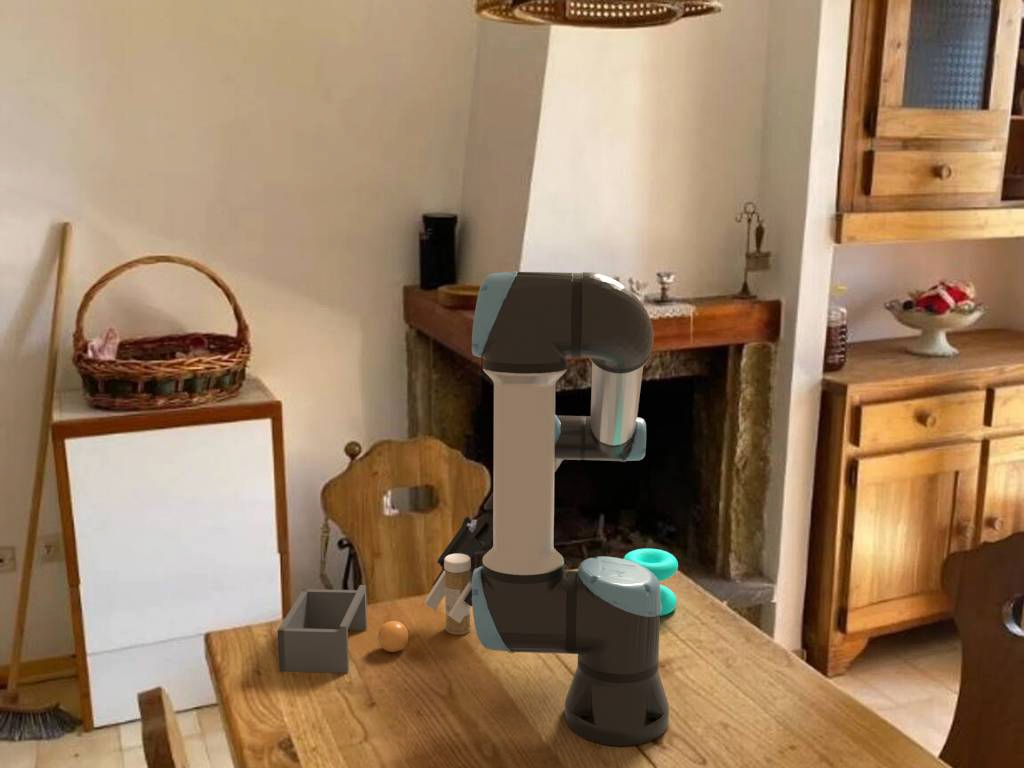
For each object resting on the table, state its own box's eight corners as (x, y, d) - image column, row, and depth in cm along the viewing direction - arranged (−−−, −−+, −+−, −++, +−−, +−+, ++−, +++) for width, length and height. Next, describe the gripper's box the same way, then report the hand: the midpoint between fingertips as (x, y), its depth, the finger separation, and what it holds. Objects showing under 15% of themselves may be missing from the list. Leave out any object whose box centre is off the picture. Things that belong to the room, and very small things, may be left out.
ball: (406, 657, 161) (405, 629, 160) (375, 657, 162) (375, 628, 161) (410, 643, 166) (410, 616, 165) (381, 642, 167) (380, 615, 166)
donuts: (655, 571, 171) (611, 556, 178) (653, 624, 174) (610, 607, 181) (689, 556, 178) (645, 542, 185) (687, 607, 180) (644, 591, 187)
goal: (347, 673, 156) (346, 626, 155) (279, 671, 157) (277, 624, 155) (367, 627, 172) (365, 585, 170) (304, 626, 173) (303, 583, 171)
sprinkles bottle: (476, 631, 171) (475, 558, 168) (453, 638, 168) (452, 564, 165) (462, 622, 174) (462, 550, 172) (440, 628, 172) (439, 555, 169)
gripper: (560, 525, 171) (489, 641, 163) (488, 498, 185) (420, 605, 177) (538, 502, 166) (464, 621, 159) (466, 477, 180) (395, 585, 173)
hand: (441, 612), depth 168 cm, fingers open, 6 cm apart
